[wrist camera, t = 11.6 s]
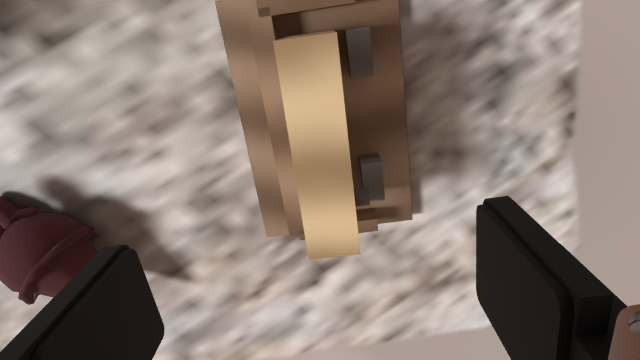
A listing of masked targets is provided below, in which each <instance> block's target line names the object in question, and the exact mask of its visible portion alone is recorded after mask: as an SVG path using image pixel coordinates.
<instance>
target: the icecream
mask: <svg viewBox="0 0 640 360" xmlns="http://www.w3.org/2000/svg"><path fill="white" fill-rule="evenodd" d="M3 227H4V228H5V229H4V228H3ZM93 235H94V228H93V227H92V226H91V224H89V225H85V226H83V225H82V224H81V223H80V222H79V221H76V220H74V219H72V218H71V216H70V215H68V214H53V213H40V211H39V210H38V209H35V208H33V207H29V208H25V209H20V208H19V207H18V206H17V205H16V204H14V203H12V202H11V201H9V200H7V199H5V198H3V197H0V281H2V282H3V283H4V284H5V285H6V286H7V287H8V288H9V289H11V290H12V291H14V292H19V297H18V298H19V299H20V300H22V301H24V302H25V303H26V304H29V305H30V304H33V303H34V302H35V300H36V298H37V297H38V295H40V294H41V295H46V296H50V297H55V296H56V295H57V294H58V293H59V292H60V291H61V290H62V289H63V288H64V287H65V286H66V285H67V284H68V283H69V282H70V280H71V279H72V278H73V277H74V276H75V275H76V274H77V273H78V272H79V271H80V270H81V269H82V268H83V267H84V266H85V265H86V264H87V263H88V262H89V261H90V260H91V259H92V258H93V257H94V256H95V255H96V254H97V253H98V251H97V250H96V248H95V247H94V246H93V244H92V243H91V241H90V239H91V238H92V237H93Z"/></svg>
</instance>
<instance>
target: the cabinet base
mask: <svg viewBox="0 0 640 360" xmlns="http://www.w3.org/2000/svg"><path fill="white" fill-rule="evenodd" d="M215 4H216V8H217V13H218V17H219V22H220V26H221V31H222V36H223V40H224V45H225V49H226V54H227V58H228V63H229V67H230V72H231V76H232V81H233V85H234V90H235V95H236V99H237V104H238V108H239V113H240V117H241V122H242V126H243V131H244V135H245V140H246V145H247V149H248V154H249V158H250V163H251V167H252V172H253V176H254V181H255V185H256V190H257V195H258V199H259V204H260V208H261V213H262V217H263V222H264V226H265V231H266V235H267V237H273V236H281V235H298V234H299V236H300V240H305V234H304V228H303V222H302V215H301V209H300V203H299V197H298V191H297V185H296V179H295V173H294V167H293V161H292V154H291V148H290V142H289V136H288V130H287V124H286V118H285V112H284V106H283V100H282V93H281V87H280V81H279V75H278V69H277V63H276V57H275V51H274V45H273V41H275V40H278V39H282V38H285V37H288V36H294V35H302V34H309V33H316V32H323V31H331V30H334V31H335V32H337V38H338V47H339V57H340V66H341V75H342V85H343V94H344V104H345V113H346V122H347V132H348V141H349V150H350V160H351V169H352V179H353V188H358V187H367V186H368V191H369V198H370V205H367V206H358V207H356V216H357V226H358V233H363V232H371V231H378V225H377V224H380V223H388V222H397V221H405V220H412V204H411V188H410V173H409V157H408V141H407V125H406V109H405V93H404V78H403V62H402V46H401V30H400V14H399V0H217V1H215Z"/></svg>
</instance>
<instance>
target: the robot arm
mask: <svg viewBox="0 0 640 360" xmlns="http://www.w3.org/2000/svg"><path fill="white" fill-rule="evenodd" d="M476 291H477V296H478V300H479V302H480V304H481V306H482V308H483V310H484V312H485V313H486V315H487V317H488V319H489V320H490V322H491V324H492V326H493V328H494V329H495V331H496V333H497V335H498V336H499V338H500V340H501V342H502V344H503V346H504V347H505V349H506V351H507V353H508V355H509V356H510V358H511V360H640V304H639V305H632V306H628V307H627V306H626V305H625V304H624V303H623V302H622V301H621V300H620V299H619V298H618V297H617V296H616V295H614V293H612V292H611V291H610V290H609V289H608V288H607V287H606V286H605V285H604V284H603V283H602V282H601V281H600V280H599V279H597V278H596V277H595V276H594V275H593V274H592V273H591V272H590V271H589V270H588V269H587V268H586V267H585V266H583V264H581V263H580V262H579V261H578V260H577V259H576V258H575V257H574V256H573V255H572V254H571V253H570V252H569V251H568V250H566V249H565V248H564V247H563V246H562V245H561V244H560V243H558V242H557V241H556V240H555V239H554V238H553V237H552V236H551V235H550V234H549V233H548V232H547V231H546V230H545V229H543V228H542V227H541V226H540V225H539V224H538V223H537V222H536V221H535V220H534V219H533V218H532V217H531V216H530V215H528V214H527V213H526V212H525V211H524V210H523V209H522V208H521V207H520V206H519V205H518V204H517V203H516V202H515V201H514V200H512V199H511V198H510V197H509V196H504V197H496V198H488V199H485V200H484V202H483V205H478V206H477V211H476ZM163 336H164V324H163V321H162V319H161V316H160V313H159V311H158V308H157V306H156V303H155V300H154V298H153V295H152V292H151V290H150V287H149V284H148V282H147V279H146V276H145V274H144V271H143V268H142V266H141V263H140V260H139V258H138V255H137V253H136V251H135V250H134V249H130V248H129V247H128V246H127V245H119V246H111V247H104V248H102V249H101V250H100V251H99V252H98V253H97V254H96V255H95V256H94V257H93V258H92V259H91V260H90V261H89V262H88V263H87V264H86V265H85V266H84V267H83V268H82V269H81V270H80V271H79V272H78V273H77V274H76V275H75V276H74V277H73V278H72V279H71V280H70V282H69V283H68V284H67V285H66V286H65V287H64V288H63V289H62V290H61V291H60V292H59V293H58V294H57V295H56V296H55V297H54V298H53V299H52V300H51V301H50V302H49V303H48V304H47V305H46V306H45V307H44V308H43V309H42V310H41V311H40V312H39V313H38V314H37V315H36V316H35V317H34V318H33V319H32V320H31V321H30V322H29V323H28V324H27V325H26V326H25V327H24V328H23V329H22V331H21V332H20V333H19V334H18V335H17V336H16V337H15V338H14V339H13V340H12V341H11V342H10V343H9V344H8V345H7V346H6V347H5V348H4V349H3V350H2V351H1V352H0V360H152V358H153V357H154V355H155V353H156V351H157V349H158V347H159V345H160V343H161V341H162V339H163Z"/></svg>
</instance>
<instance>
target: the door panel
mask: <svg viewBox="0 0 640 360" xmlns="http://www.w3.org/2000/svg"><path fill="white" fill-rule="evenodd" d="M273 45H274V51H275V57H276V63H277V69H278V75H279V81H280V87H281V93H282V100H283V106H284V112H285V118H286V124H287V130H288V136H289V142H290V148H291V154H292V161H293V167H294V173H295V179H296V185H297V191H298V197H299V203H300V209H301V215H302V222H303V228H304V234H305V240H306V246H307V252H308V258H309V260H310V259H320V258H329V257H339V256H348V255H358V254H360V244H359V235H358V226H357V216H356V207H358V206H367V205H370V198H369V191H368V186H367V187H358V188H353V179H352V169H351V160H350V150H349V141H348V132H347V122H346V113H345V104H344V94H343V85H342V75H341V66H340V57H339V47H338V38H337V32H335V31H334V30H331V31H323V32H316V33H309V34H302V35H294V36H288V37H285V38H282V39H278V40H275V41H273Z"/></svg>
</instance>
